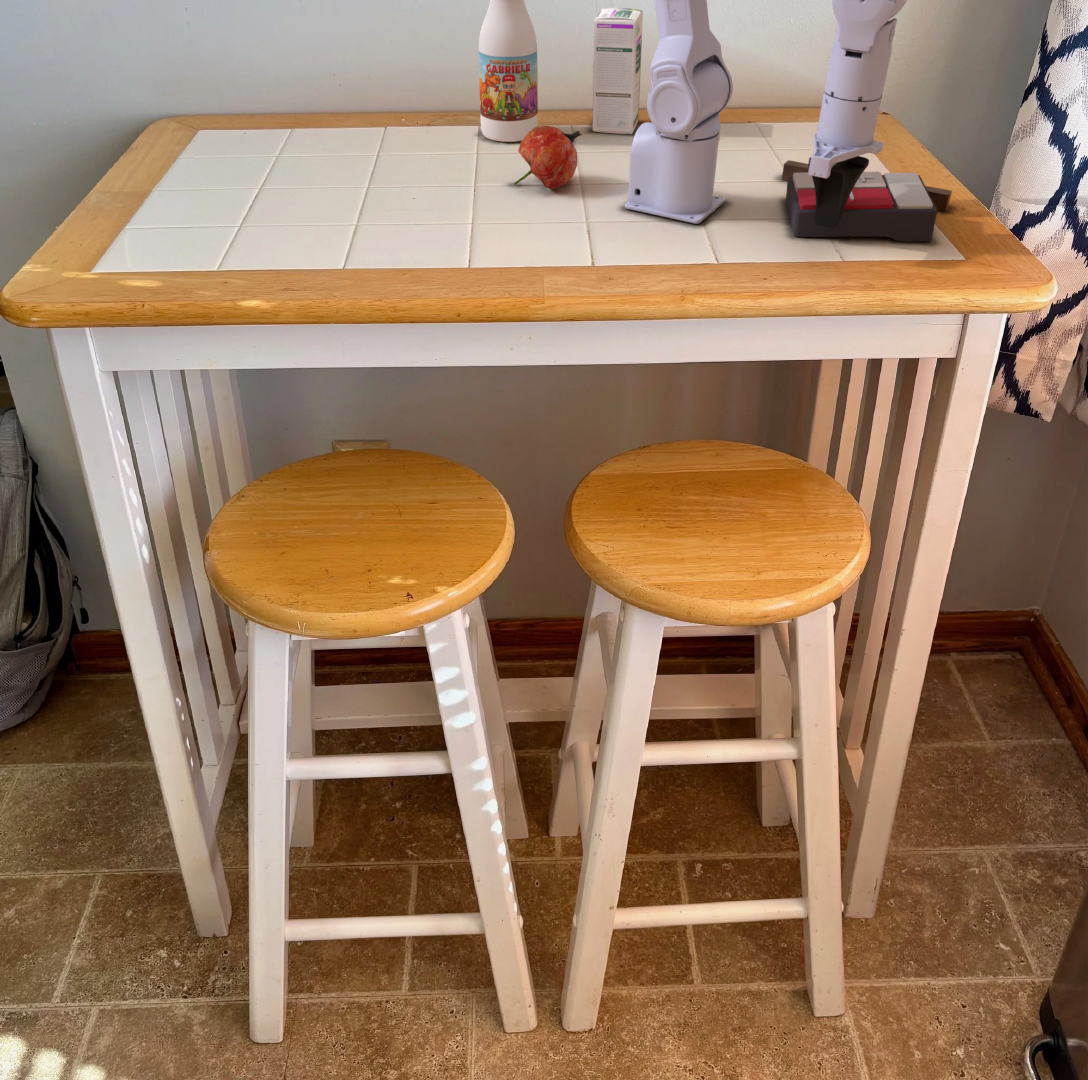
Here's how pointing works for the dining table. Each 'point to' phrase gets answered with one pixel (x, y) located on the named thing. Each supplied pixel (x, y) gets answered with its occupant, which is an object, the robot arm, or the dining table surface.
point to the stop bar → (937, 194)
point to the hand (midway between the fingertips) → (827, 224)
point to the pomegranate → (550, 155)
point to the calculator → (867, 208)
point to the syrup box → (617, 70)
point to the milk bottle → (508, 72)
